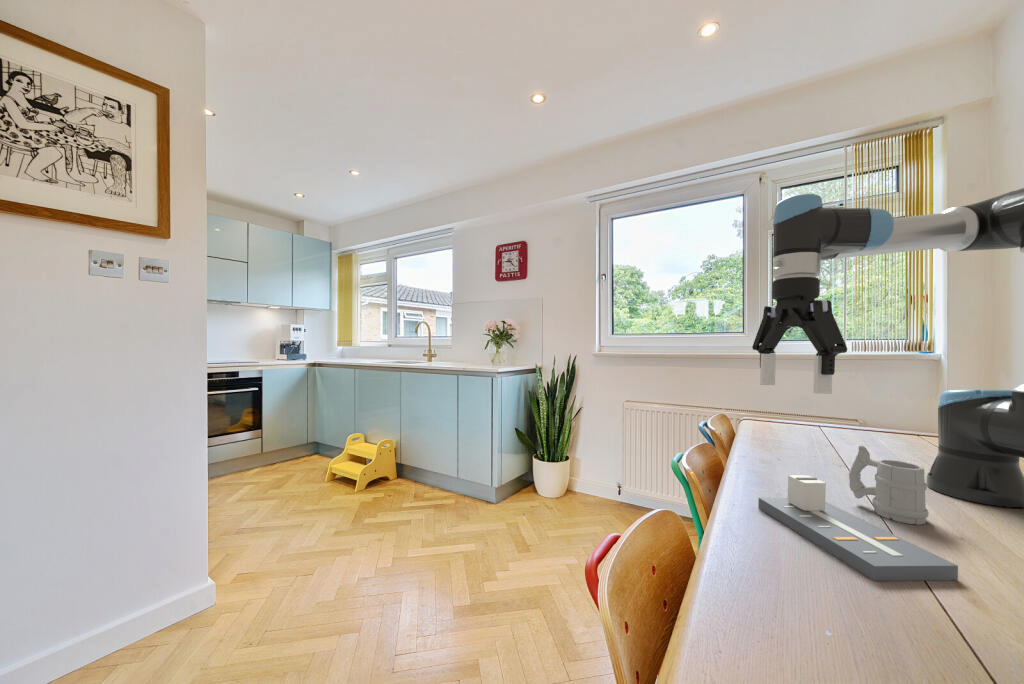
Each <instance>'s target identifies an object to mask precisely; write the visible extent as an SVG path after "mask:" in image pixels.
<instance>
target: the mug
mask: <svg viewBox="0 0 1024 684" xmlns="http://www.w3.org/2000/svg"><path fill="white" fill-rule="evenodd" d="M867 466H871V467H873V468H874V467H876V473H875V474H874V481H875V486H866V485H865V484H864V483H863V481H862V480H861V477H862V476H861V474H862V471H863V469H865V468H866V467H867ZM925 479H926V478H925V469H924V467H923V466H920V465H918V464H915V463H911V462H906V461H902V460H893V459H879V460H874V459H871V454H870V451H868V449H867V447H865V446H864V445H862V444H861V445H858V452H857V454H856V457H855V458H854V461H853V462H852V464H851V467H850V470H849V472H848V480H849V482H848V483H849V489H850V491H852V492H853V496H854V497H855V498H856V499H862V498H863V497H865V496H874V497H873V498H872V502H871V503H872V506H873V507H874V509H873V511H874V513H876V515H879V516H880V517H883V518H884V519H887V520H892V521H894V522H899V523H904V524H907V525H908V524H909V525H918V526H919V525H925V524H926V523H927V518H928V517H929V510H928V509H927V507H926V490H927V489H928V486H927V482H925V481H926V480H925Z"/></svg>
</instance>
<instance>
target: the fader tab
mask: <svg viewBox="0 0 1024 684" xmlns="http://www.w3.org/2000/svg"><path fill="white" fill-rule="evenodd" d="M826 485H827V484H826V482H825V481H822V480H820V479H818V478H817V477H813V476H810V475H797V474H796V475H795V474H793V475H791V474H790V475H787V498H788V502H789V503H791V504H793V505H795V506H796V507H798V508H800V509H802V510H804V511H825V502H826V494H827V493H826V492H827V490H826V489H827V488H826V487H827V486H826Z"/></svg>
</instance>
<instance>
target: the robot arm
mask: <svg viewBox="0 0 1024 684" xmlns="http://www.w3.org/2000/svg"><path fill="white" fill-rule="evenodd" d="M823 206H824V203H823V199H822V196H821V195H818V194H815V193H800V194H794V195H791V196H788V197H785V198H783V199H782V200H780V201H778V202H777V204H776V205H775V207H774V212H773V213H774V215H773V223H772V227H773V239H772V240H773V242H772V243H773V244H772V245H773V246H772V247H773V249H772V255H773V259H772V261H773V262H772V263H773V264H772V278H773V279H775V280H773V282H772V283H771V298H772V299H773V300H775V302H776V305H775V306H773V305H771V306H769V305H766V306H764V307H763V314H762V318H761V319H762V320H761V321H760V325H759V327H758V331H757V333H756V336H755V338H754V341H753V343H752V350H753V351H757V352H758V353H759V369H760V376H759V378H760V383H759V385H762V386H776V364H777V363H776V361H777V357H776V355H777V354H776V352H775V349H776V347H777V346H778V345H779V344H780V342H781V340H782V338H783V337H784V335H785V334H786V332H787V331H788V330H790V329H791V328H797V327H799V329H802V331H803V332H804V334H805V335H806V336H807V338H808V340H809V341H810V343H811V344H812V346H813V348H814V349H815V350H816V354H815V355H814V362H813V363H814V364H813V369H814V370H813V394H821V395H823V394H826V395H827V394H829V395H830V394H832V389H833V387H832V386H833V384H832V383H833V375H835V373H836V371H835V368H836V367H835V366H836V365H835V362H836V357H837V356H838V355H840V354H842V353H843V354H845V353H847V352H848V346H847V344H846V342H845V340H844V337H843V335H842V332H841V329H840V328H839V325H838V323H837V321H836V319H835V317H834V314H833V308H832V301H831V300H826V299H825V300H823V299H818V298H819V297H820V295H821V294H820V293H821V292H820V289H821V288H820V287H821V280H820V279H819V276H820V275H821V261H828V260H835V259H836V260H837V259H846V258H855V257H867V256H877V255H885V254H895V253H897V254H898V253H906V252H907V253H908V252H915V251H916V252H917V251H925V250H926V251H927V250H928V251H929V250H937V249H939V250H941V251H944V252H947V253H948V252H949V253H953V252H956V253H957V252H964V251H965V252H968V251H986V250H987V251H988V250H1005V249H1017V248H1019V251H1020V253H1022V254H1024V187H1023V188H1019V189H1017V190H1013V191H1009V192H1006V193H1003V194H1001V195H997V196H994V197H990V198H988V199H985V200H982V201H978V202H975V203H971V204H966V205H961V206H954V207H950V208H947V209H946V210H943V211H942V212H941V213H940V212H939V213H932V214H929V213H928V214H922V215H911V216H902V217H893V215H892V214H891V213H890V212H889V211H888V210H885V209H883V208H881V209H880V208H870V207H867V206H866V207H864V208H863V207H862V208H861V207H855V208H854V207H852V208H851V207H847V208H845V207H842V208H840V207H839V208H837V207H836V208H833V207H832V208H831V207H823ZM937 414H938V415H937V421H938V423H937V425H938V427H937V428H938V429H937V430H938V432H937V433H938V437H937V439H938V443H937V444H938V451H937V456H936V457H935V459H934V461H933V463H932V465H931V467H930V470H929V472H928V473H927V475H926V484H927V488H929V489H931V490H934V491H936V492H938V493H941V494H943V495H946V496H950V497H953V498H958V499H961V500H965V501H969V502H974V503H979V504H983V505H989V506H990V505H991V506H995V505H996V507H1002V506H1008V507H1007V508H1012V507H1024V474H1023V471H1022V470H1021V467H1020V458H1023V459H1024V382H1022V383H1021V384H1019V385H1018V386H1016V387H1014V388H1012V389H1011V390H1010V389H948V390H945V391H942V393H940V395H939V403H938V406H937Z"/></svg>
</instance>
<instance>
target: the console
mask: <svg viewBox="0 0 1024 684" xmlns="http://www.w3.org/2000/svg"><path fill="white" fill-rule="evenodd" d="M757 503H758V509H759V510H761V511H763V512H764V513H766V514H768V515H770V516H771V517H772V518H773V519H776V520H777V521H779V522H780V523H782V524H783V525H785V526H786V527H788V528H790V529H791V530H792V531H795V532H796V533H798V534H799V535H801V536H803V537H804V538H806V539H807V540H808V541H811V542H812V543H813V544H814V545H817V546H819V547H820V548H822V549H823V550H825V551H826V552H828V553H829V554H831V555H833V556H834V557H836V558H838V559H839V560H841V561H842V562H843V563H845V564H847V565H848V566H850V567H852V568H853V569H855V570H856V571H858V572H859V573H861V574H862V575H865V576H866V577H868V578H869V579H871V580H873V581H874V582H884V581H885V582H890V581H891V582H893V581H894V582H899V581H901V582H902V581H903V582H904V581H905V582H907V581H908V582H909V581H912V582H913V581H914V582H915V581H958V580H959V578H958V577H959V565H958V564H955V563H954V562H951V561H949V560H947V559H946V558H943V557H941V556H939V555H937V554H935V553H932V552H931V551H929V550H927V549H925V548H922V547H921V546H919V545H916V544H915V543H912V542H910V541H908V540H906V539H904V538H902V537H900V536H898V535H895V534H893V533H892V532H890V531H887V530H885V529H883V528H881V527H879V526H877V525H875V524H873V523H871V522H868V521H866V520H865V519H862V518H861V517H859V516H857V515H855V514H852V513H851V512H848V511H846V510H844V509H842V508H840V507H837V506H835V505H834V504H832V503H829V502H828V501H825V511H804V510H802V509H800V508H798V507H796V506H795V505H793V504H791V503H789V502H788V497H758V502H757Z"/></svg>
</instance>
